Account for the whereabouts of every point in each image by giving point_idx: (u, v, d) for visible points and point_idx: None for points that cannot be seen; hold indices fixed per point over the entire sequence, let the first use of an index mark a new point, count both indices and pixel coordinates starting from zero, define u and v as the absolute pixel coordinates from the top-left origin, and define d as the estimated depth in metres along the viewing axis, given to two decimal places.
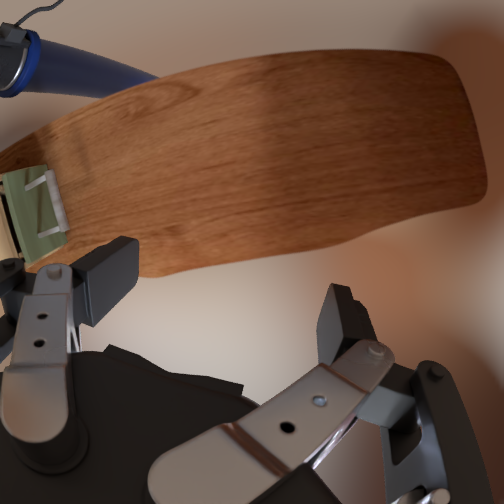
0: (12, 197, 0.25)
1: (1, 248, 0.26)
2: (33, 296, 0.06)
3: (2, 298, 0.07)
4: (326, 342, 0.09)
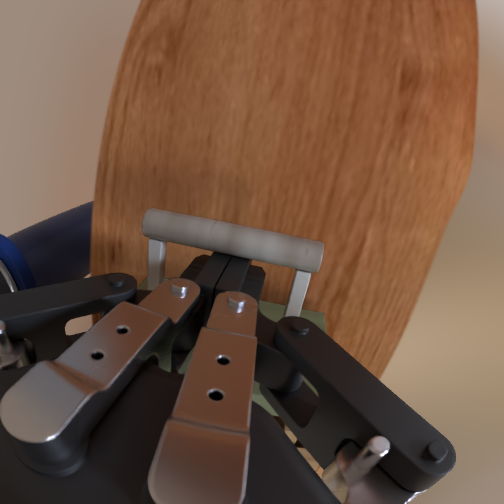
0: None
1: None
2: (129, 306, 0.06)
3: None
4: None
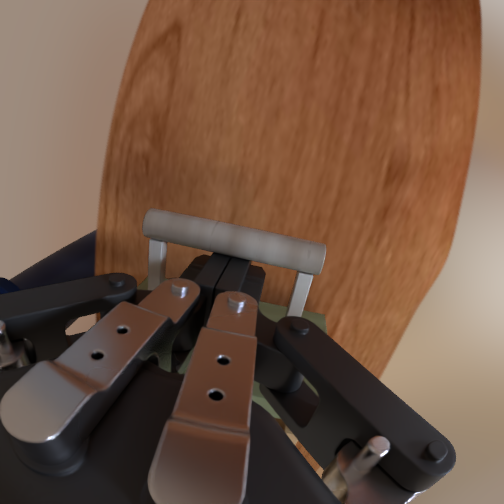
0: None
1: None
2: (129, 306, 0.06)
3: None
4: None
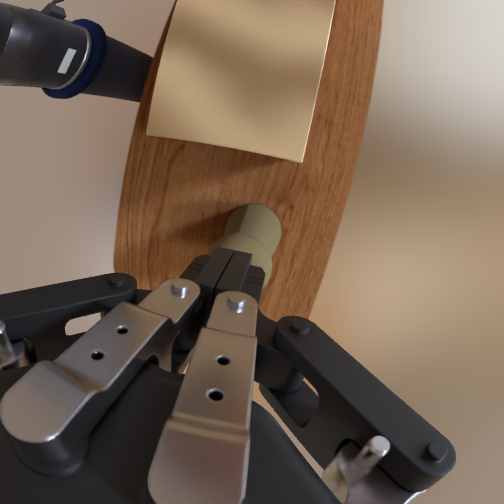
0: None
1: (286, 3, 0.16)
2: (129, 306, 0.06)
3: None
4: None
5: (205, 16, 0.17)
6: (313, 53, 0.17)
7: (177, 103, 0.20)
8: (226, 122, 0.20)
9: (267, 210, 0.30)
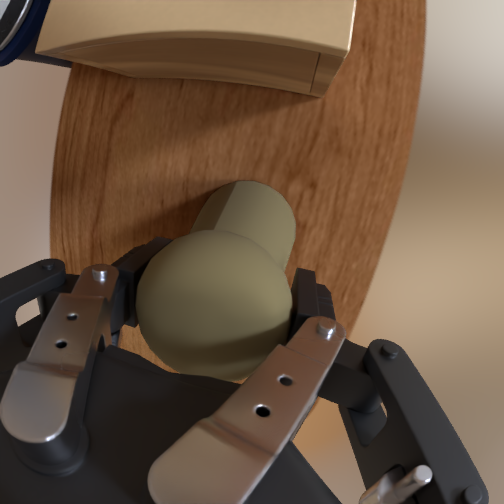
0: None
1: None
2: (68, 295, 0.06)
3: (40, 300, 0.08)
4: None
5: None
6: None
7: None
8: None
9: (271, 190, 0.17)
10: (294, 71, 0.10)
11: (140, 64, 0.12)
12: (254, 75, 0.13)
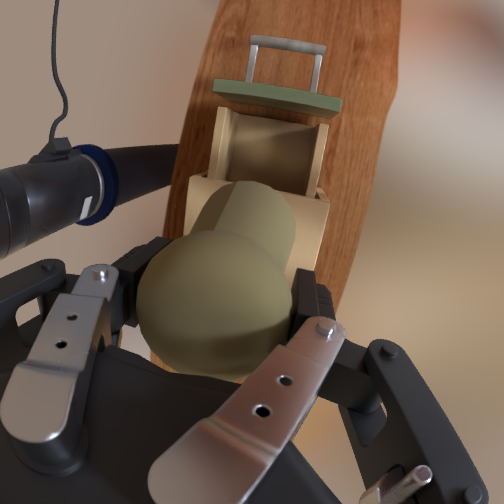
0: (248, 82, 0.22)
1: None
2: (68, 295, 0.06)
3: (40, 300, 0.08)
4: None
5: None
6: None
7: None
8: None
9: (271, 190, 0.17)
10: None
11: None
12: None
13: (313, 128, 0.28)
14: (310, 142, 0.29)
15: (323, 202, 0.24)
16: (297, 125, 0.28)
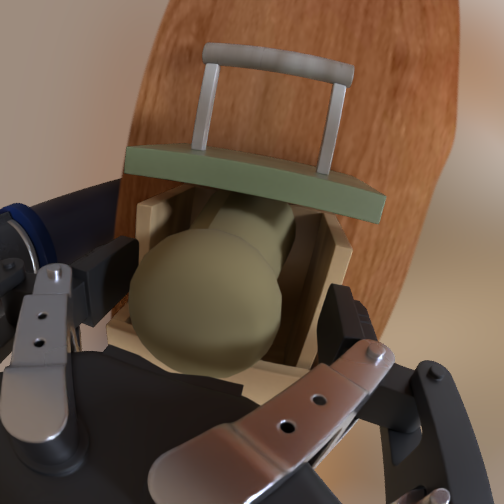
0: None
1: (257, 401, 0.14)
2: (33, 296, 0.06)
3: (2, 298, 0.07)
4: (326, 342, 0.09)
5: None
6: None
7: None
8: None
9: None
10: None
11: None
12: None
13: (319, 214, 0.17)
14: (313, 238, 0.18)
15: None
16: (292, 208, 0.18)
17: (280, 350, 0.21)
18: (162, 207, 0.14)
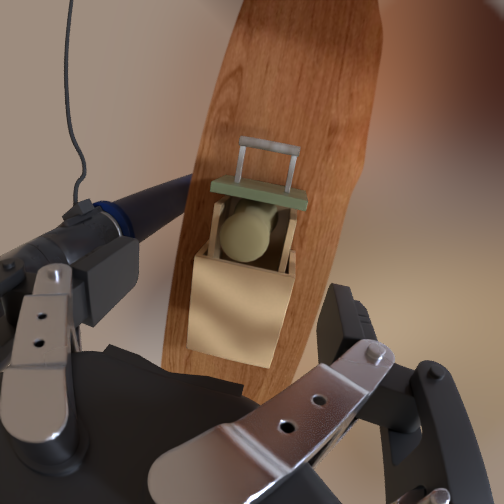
0: (237, 186, 0.33)
1: (261, 289, 0.35)
2: (33, 296, 0.06)
3: (2, 298, 0.07)
4: (326, 342, 0.09)
5: (213, 292, 0.36)
6: (276, 321, 0.37)
7: (203, 338, 0.39)
8: (230, 350, 0.39)
9: None
10: None
11: None
12: None
13: (289, 209, 0.39)
14: (286, 220, 0.39)
15: (290, 277, 0.34)
16: (276, 206, 0.39)
17: None
18: (223, 205, 0.35)
